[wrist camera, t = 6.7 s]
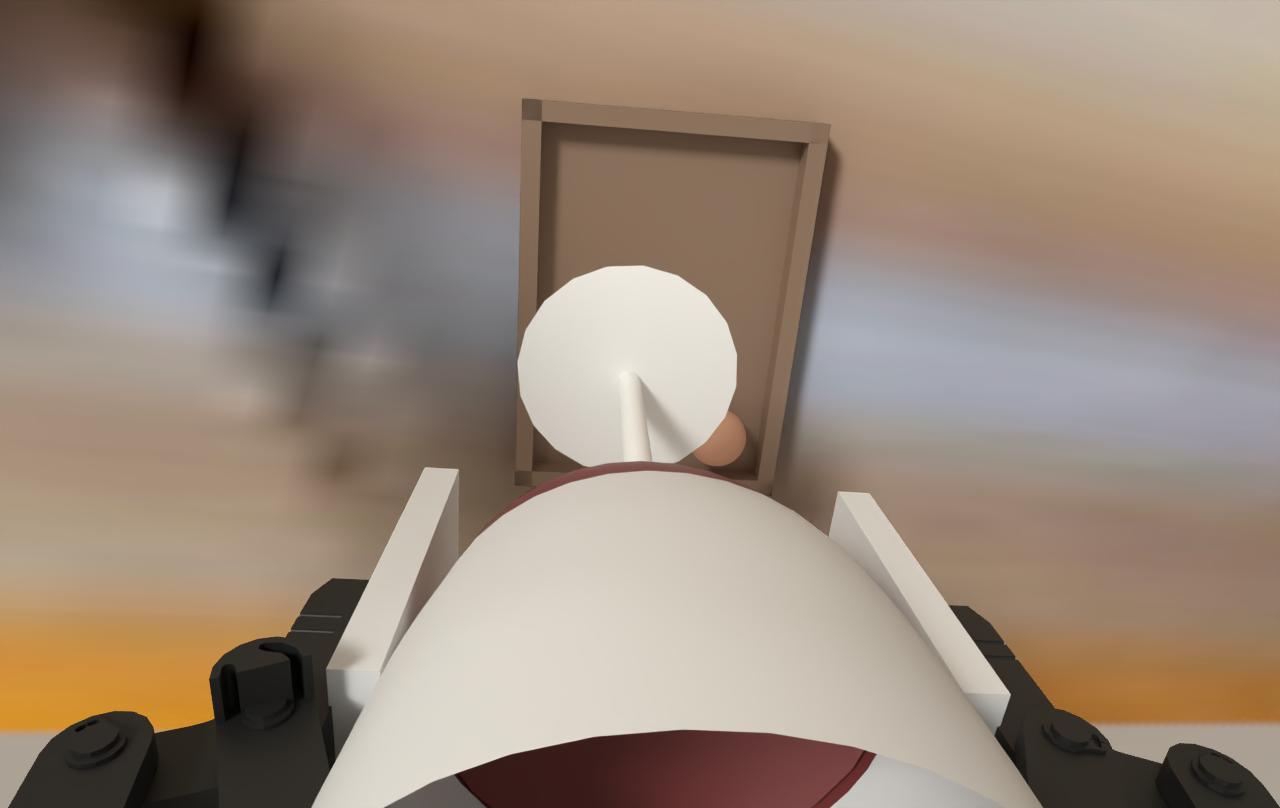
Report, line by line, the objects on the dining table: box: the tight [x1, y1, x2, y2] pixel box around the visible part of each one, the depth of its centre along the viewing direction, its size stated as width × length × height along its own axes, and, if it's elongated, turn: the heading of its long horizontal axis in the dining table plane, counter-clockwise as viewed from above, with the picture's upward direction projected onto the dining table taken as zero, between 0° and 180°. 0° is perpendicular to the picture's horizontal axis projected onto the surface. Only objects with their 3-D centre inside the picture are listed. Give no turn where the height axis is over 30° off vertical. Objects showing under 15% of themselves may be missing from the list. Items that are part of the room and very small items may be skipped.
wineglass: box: [311, 266, 1043, 808], centre depth 18 cm, size 9×10×22 cm
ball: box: [692, 411, 746, 466], centre depth 45 cm, size 4×4×4 cm
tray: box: [515, 98, 831, 496], centre depth 44 cm, size 22×16×2 cm
